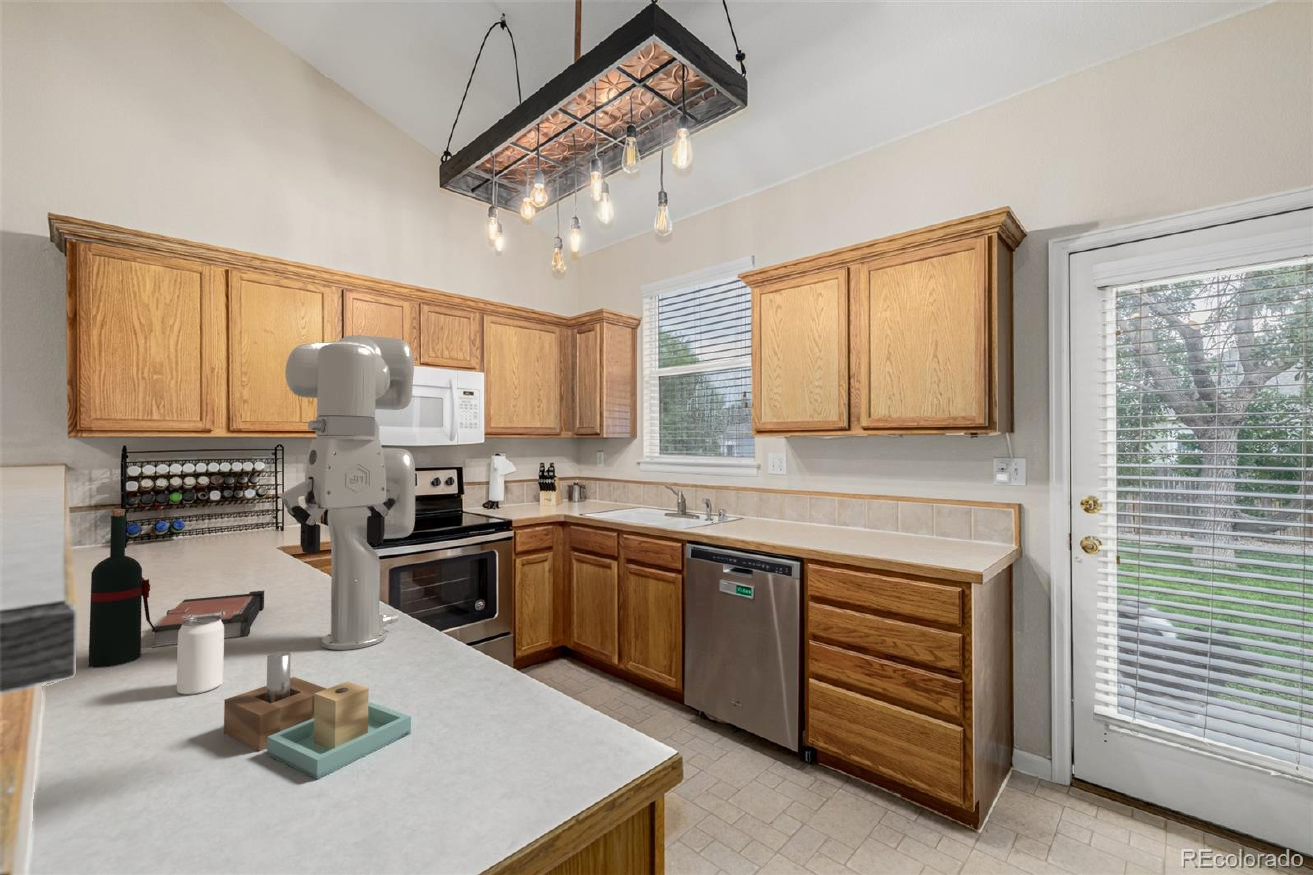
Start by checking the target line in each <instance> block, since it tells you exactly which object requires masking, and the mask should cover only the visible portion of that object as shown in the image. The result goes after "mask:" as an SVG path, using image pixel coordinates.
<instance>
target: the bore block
mask: <svg viewBox="0 0 1313 875" xmlns="http://www.w3.org/2000/svg"><path fill="white" fill-rule="evenodd" d="M325 689H328V688H326V687H323V686H321V685H317V684H315V683H312V682H309V681H307V680H304V679H301V678H298V677H296V676H292V677H290V697H287V698H284V699H282V700H279V701H276V702H273V703H268V702H267V685H264V686H261V687H259V688H255V689H253V690H250V691H246V692H243V693H239V694H237V695H235V696H231V697H228V698H225V699H224V703H223V704H224V709H223V710H224V712H223V714H224V715H223V734H224V735H226V736H229V737H230V738H233V739H234V740H236V741H238V742H241V743H243V744H244V745H246V746H249V747H250V748H253V749H255V750H256V751H259V752H261V751H264V750H265V749H267V737H268V736H270V735H273V734H275V733H278V732H280V731H283V730H285V729H288V728H290V727H293V726H295V725H298V724H300V723H303V722H305V721H308V720H310V719H313V718H314V695H315V693H317V692H320V691H323V690H325Z"/></svg>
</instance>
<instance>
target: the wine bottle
mask: <svg viewBox="0 0 1313 875" xmlns="http://www.w3.org/2000/svg"><path fill="white" fill-rule="evenodd" d="M125 512H126V509H125V508H118V509H111V513H112V515H110V542H109V543H110V545H109V548H110V549H109V550H110V551H109V557H107V558H104V559H103V560H101V561H100V562H98V563H97V564H96V565H95V566H94V567H93V569H92V571H91V573H90V574H91V577H90V578H91V579H90V607H89V608H90V610H89V611H90V612H89V634H88V635H89V638H88V663H87V664H88V665H87V666H88V667H90V668H95V669H96V668H98V669H99V668H108V667H109V668H110V667H115V666H120V665H124V664H127V663H130V662H134V661H136V660H138V659H140V658H141V657H142V602H143V607H144V615H145V619H146V620H145V621H146V622H147V623H148V624H149V626H150V627H151V629H153V628H154V627H155V626H154V625H153V623H152V621H151V617H150V609H149V603H148V602H149V601H148V599H149V598H150V592H151V584H150V579H149V578H147V579H145V578H144V577H143V568H142V566H141V564H140V562H139V561H138V560H136V559H135V558H133V557H131V556H129V555H126V527H127V526H126V522H127V521H126V520H127V519H126V517H127V516H126V513H125ZM154 629H155V628H154ZM155 630H156V629H155Z"/></svg>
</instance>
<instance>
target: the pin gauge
mask: <svg viewBox="0 0 1313 875" xmlns="http://www.w3.org/2000/svg"><path fill="white" fill-rule="evenodd" d="M291 654H292V653H291V651H277V652H273V653H271V654H268V655H267V657H266V658H267V659H266V686H267V702H268V703H273V702H276V701H279V700H282V699H284V698H287V697H290V678H291V660H292V658H291Z"/></svg>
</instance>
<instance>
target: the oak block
mask: <svg viewBox="0 0 1313 875" xmlns="http://www.w3.org/2000/svg"><path fill="white" fill-rule="evenodd" d="M369 689H370V688H369V687H366V686H363V685H361V684H358V683H354V682H351V681H344V682H341V683H339V684H337V685H334V686H330V687H328V688H327V689H325V690H323V691H320V692H317V693H315V695H314V743H316V744H318V745H320V746H323V747H325V748H328V749H330V750H332V749H334V748H336V747H338V746H340V745H342V744H345V743H347V742H349V741H351V740H353V739H355V738H358V737H360V736H362V735H364V734H366V733H368V701H369V693H370V692H369Z"/></svg>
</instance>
